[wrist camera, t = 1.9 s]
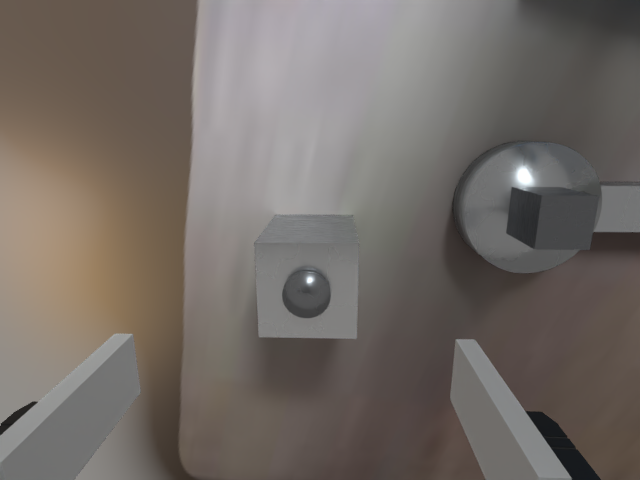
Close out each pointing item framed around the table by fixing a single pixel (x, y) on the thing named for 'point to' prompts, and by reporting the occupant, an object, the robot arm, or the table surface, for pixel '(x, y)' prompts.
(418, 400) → the table surface
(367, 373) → the table surface
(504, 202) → the ratchet
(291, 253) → the grey block with knob
